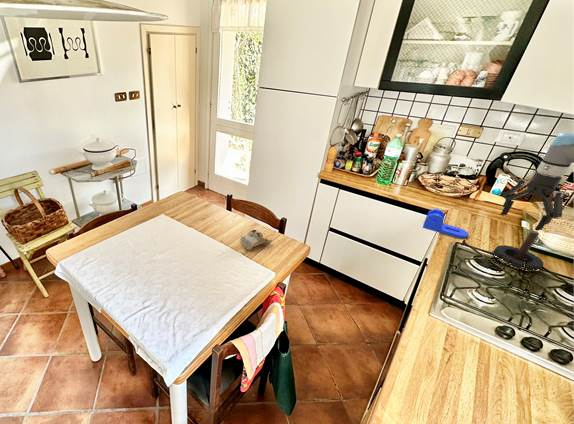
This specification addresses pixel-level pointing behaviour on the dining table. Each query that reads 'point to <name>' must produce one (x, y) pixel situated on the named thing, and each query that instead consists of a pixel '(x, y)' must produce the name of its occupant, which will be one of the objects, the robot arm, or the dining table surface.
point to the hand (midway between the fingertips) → (520, 221)
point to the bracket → (442, 225)
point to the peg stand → (525, 245)
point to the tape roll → (532, 260)
